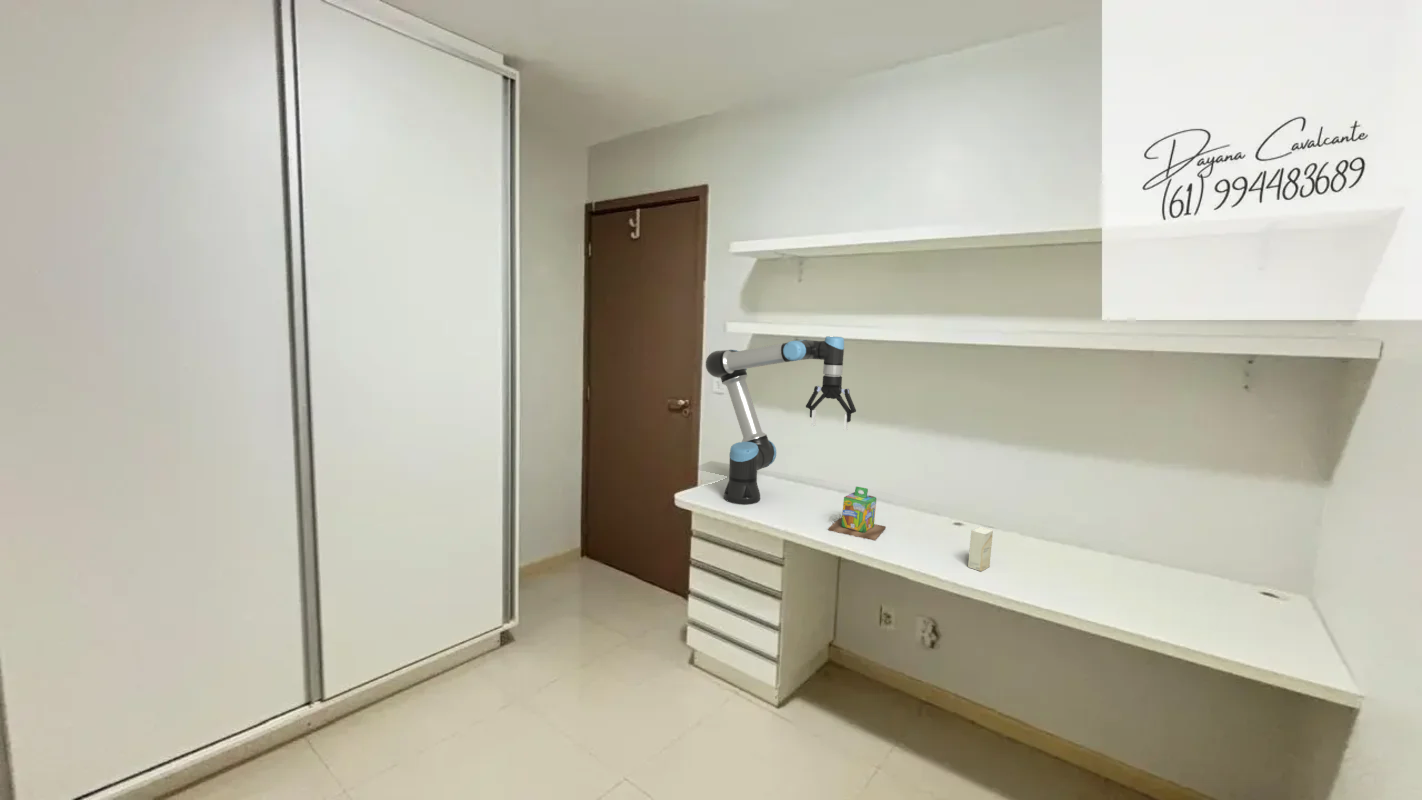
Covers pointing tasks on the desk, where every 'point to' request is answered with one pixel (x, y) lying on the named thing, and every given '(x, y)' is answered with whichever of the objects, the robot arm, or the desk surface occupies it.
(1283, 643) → the desk surface
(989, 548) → the skincare box
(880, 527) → the walnut board
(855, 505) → the chalk box
